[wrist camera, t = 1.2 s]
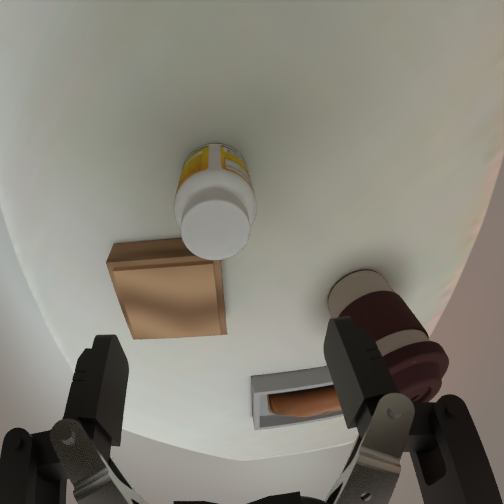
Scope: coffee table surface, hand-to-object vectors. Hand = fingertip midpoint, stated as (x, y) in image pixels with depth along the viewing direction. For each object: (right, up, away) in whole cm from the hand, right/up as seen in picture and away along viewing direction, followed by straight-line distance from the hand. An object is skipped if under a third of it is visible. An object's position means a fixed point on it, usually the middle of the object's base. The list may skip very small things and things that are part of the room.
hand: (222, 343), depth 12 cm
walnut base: (-7, 0, +20) cm, 21 cm away
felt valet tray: (+12, -18, +35) cm, 42 cm away
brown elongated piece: (+12, -18, +35) cm, 41 cm away
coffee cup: (+13, -1, +25) cm, 28 cm away
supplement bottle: (-2, +10, +15) cm, 18 cm away
